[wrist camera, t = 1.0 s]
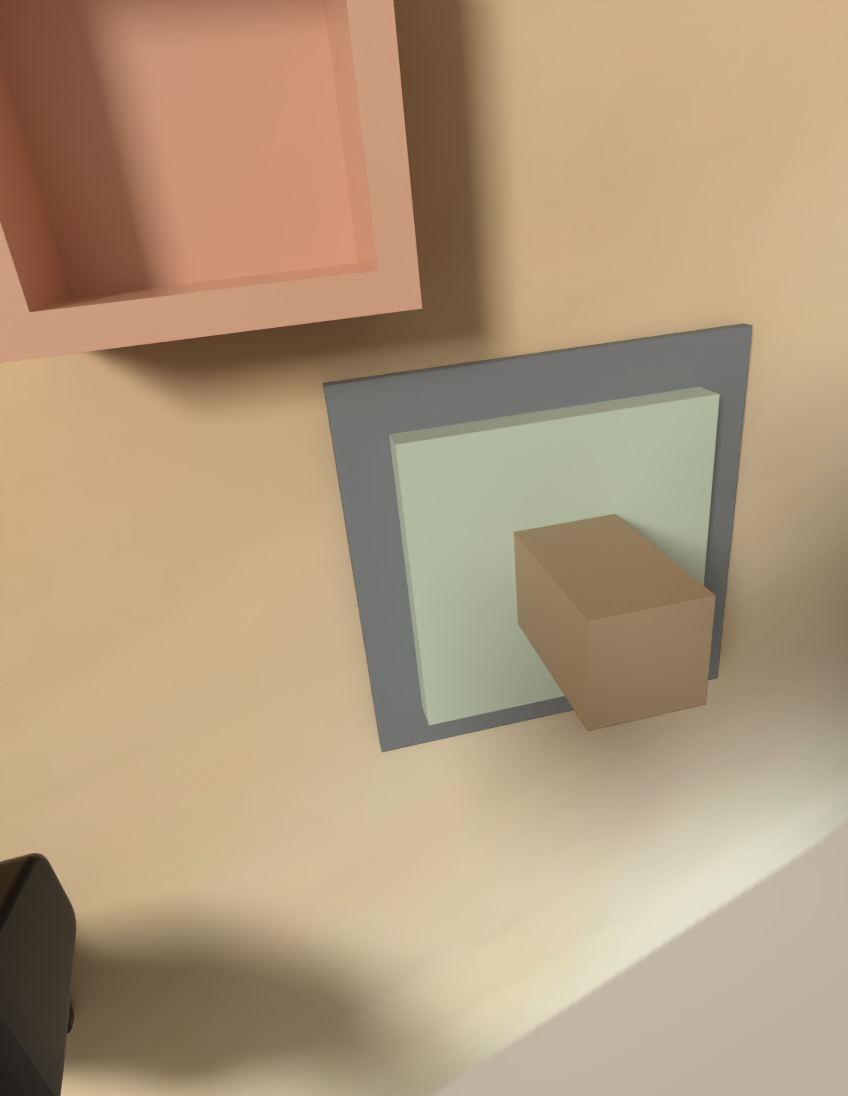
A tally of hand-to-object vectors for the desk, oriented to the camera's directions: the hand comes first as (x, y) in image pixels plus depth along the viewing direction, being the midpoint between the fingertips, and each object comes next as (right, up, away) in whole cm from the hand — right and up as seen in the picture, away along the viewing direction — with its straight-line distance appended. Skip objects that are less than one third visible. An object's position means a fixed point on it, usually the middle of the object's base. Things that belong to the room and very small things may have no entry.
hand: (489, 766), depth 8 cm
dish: (-6, +12, +8) cm, 15 cm away
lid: (+3, +2, +14) cm, 14 cm away
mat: (+3, +2, +14) cm, 15 cm away
